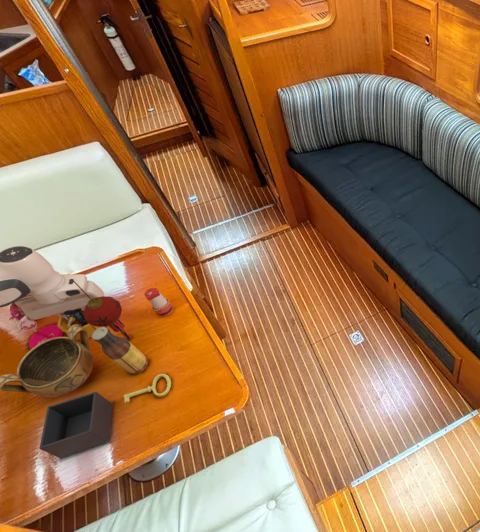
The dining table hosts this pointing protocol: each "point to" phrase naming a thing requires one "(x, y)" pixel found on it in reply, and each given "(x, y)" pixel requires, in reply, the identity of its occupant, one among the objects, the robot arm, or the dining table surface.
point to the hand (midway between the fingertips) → (79, 315)
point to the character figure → (76, 314)
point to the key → (151, 388)
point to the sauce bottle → (120, 351)
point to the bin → (76, 425)
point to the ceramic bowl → (53, 366)
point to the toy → (158, 302)
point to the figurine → (38, 335)
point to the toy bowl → (89, 328)
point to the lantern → (104, 313)
